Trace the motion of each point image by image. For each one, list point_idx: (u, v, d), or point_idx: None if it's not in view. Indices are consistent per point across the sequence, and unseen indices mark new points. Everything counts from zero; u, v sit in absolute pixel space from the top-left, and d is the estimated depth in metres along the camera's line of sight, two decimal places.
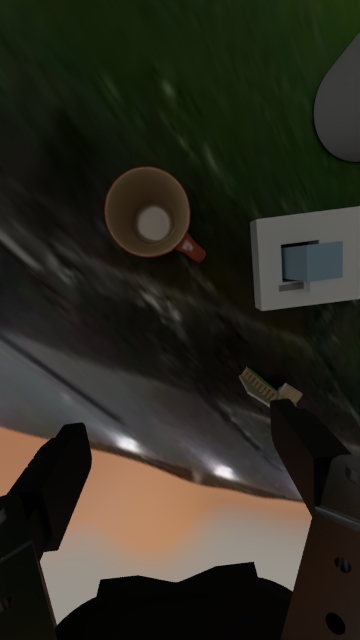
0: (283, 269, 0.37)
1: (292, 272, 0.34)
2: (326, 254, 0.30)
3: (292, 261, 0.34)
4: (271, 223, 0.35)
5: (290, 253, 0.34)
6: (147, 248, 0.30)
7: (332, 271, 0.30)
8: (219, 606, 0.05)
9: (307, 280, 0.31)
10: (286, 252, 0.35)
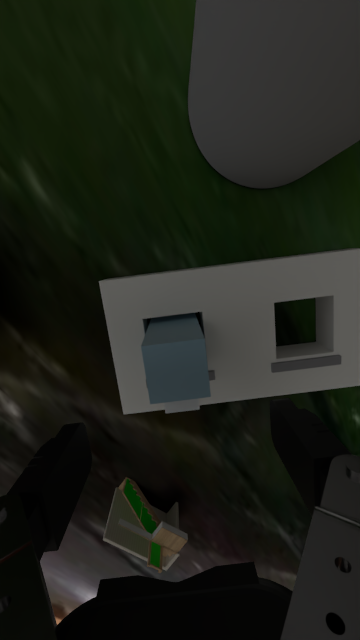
0: None
1: None
2: (178, 361, 0.17)
3: None
4: (123, 287, 0.22)
5: None
6: None
7: (192, 387, 0.18)
8: (219, 606, 0.05)
9: (150, 401, 0.18)
10: None
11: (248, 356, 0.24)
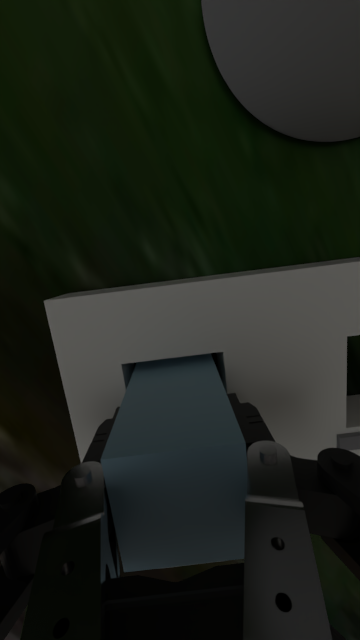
0: None
1: None
2: (185, 489, 0.08)
3: None
4: (87, 311, 0.13)
5: None
6: None
7: (215, 539, 0.08)
8: (219, 606, 0.05)
9: (125, 566, 0.08)
10: None
11: (299, 424, 0.14)
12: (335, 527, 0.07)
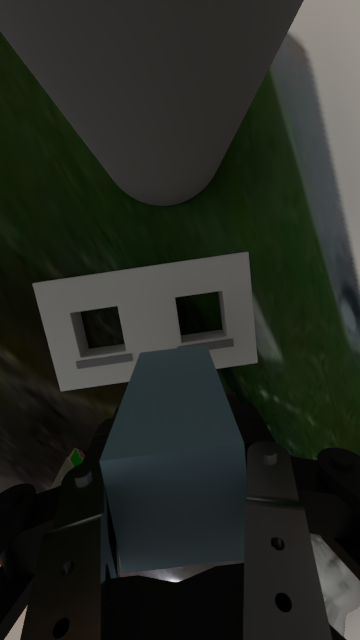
0: None
1: None
2: (184, 490, 0.08)
3: None
4: (52, 288, 0.28)
5: None
6: None
7: (213, 540, 0.08)
8: (219, 606, 0.05)
9: (124, 567, 0.08)
10: None
11: (158, 341, 0.29)
12: (335, 527, 0.07)
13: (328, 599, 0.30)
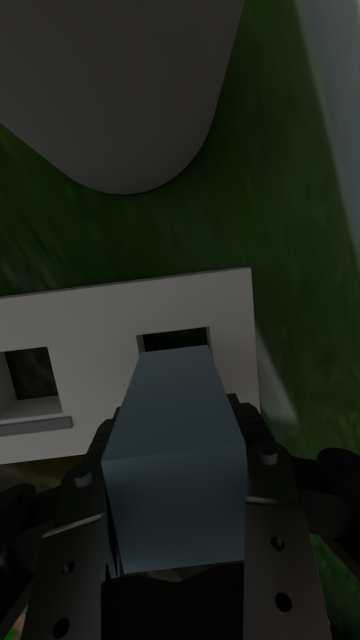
0: None
1: None
2: (185, 491, 0.08)
3: None
4: None
5: None
6: None
7: (215, 541, 0.08)
8: (219, 606, 0.05)
9: (126, 567, 0.08)
10: None
11: (111, 399, 0.19)
12: (335, 527, 0.07)
13: None
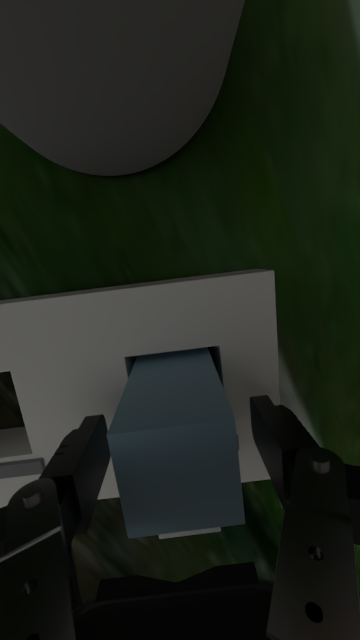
0: None
1: None
2: (182, 461, 0.09)
3: None
4: None
5: None
6: None
7: (209, 507, 0.09)
8: (219, 606, 0.05)
9: (129, 533, 0.09)
10: None
11: None
12: None
13: None
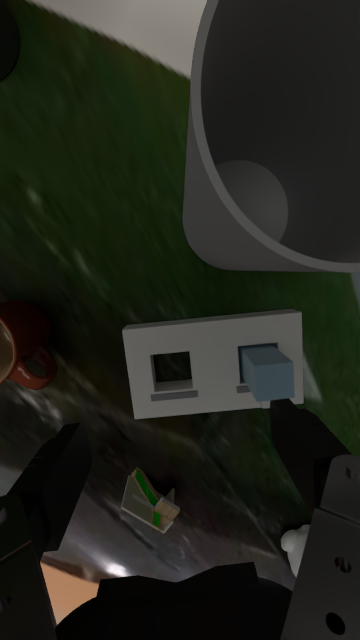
0: (241, 368, 0.35)
1: (247, 380, 0.32)
2: (276, 375, 0.28)
3: (246, 368, 0.32)
4: (138, 334, 0.34)
5: (245, 359, 0.32)
6: None
7: (283, 391, 0.29)
8: (219, 606, 0.05)
9: (257, 400, 0.29)
10: (242, 355, 0.34)
11: (220, 381, 0.35)
12: None
13: None
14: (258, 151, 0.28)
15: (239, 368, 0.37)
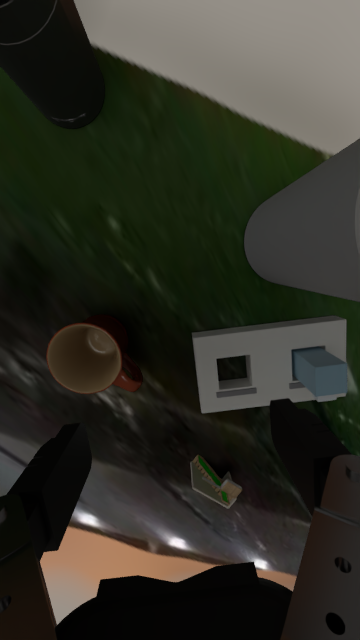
0: (293, 367, 0.41)
1: (302, 378, 0.38)
2: (332, 374, 0.34)
3: (301, 368, 0.38)
4: (206, 341, 0.39)
5: (300, 361, 0.38)
6: (88, 380, 0.34)
7: (338, 388, 0.35)
8: (219, 606, 0.05)
9: (316, 395, 0.35)
10: (296, 356, 0.39)
11: (276, 379, 0.41)
12: None
13: None
14: None
15: None
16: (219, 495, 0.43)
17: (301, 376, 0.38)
